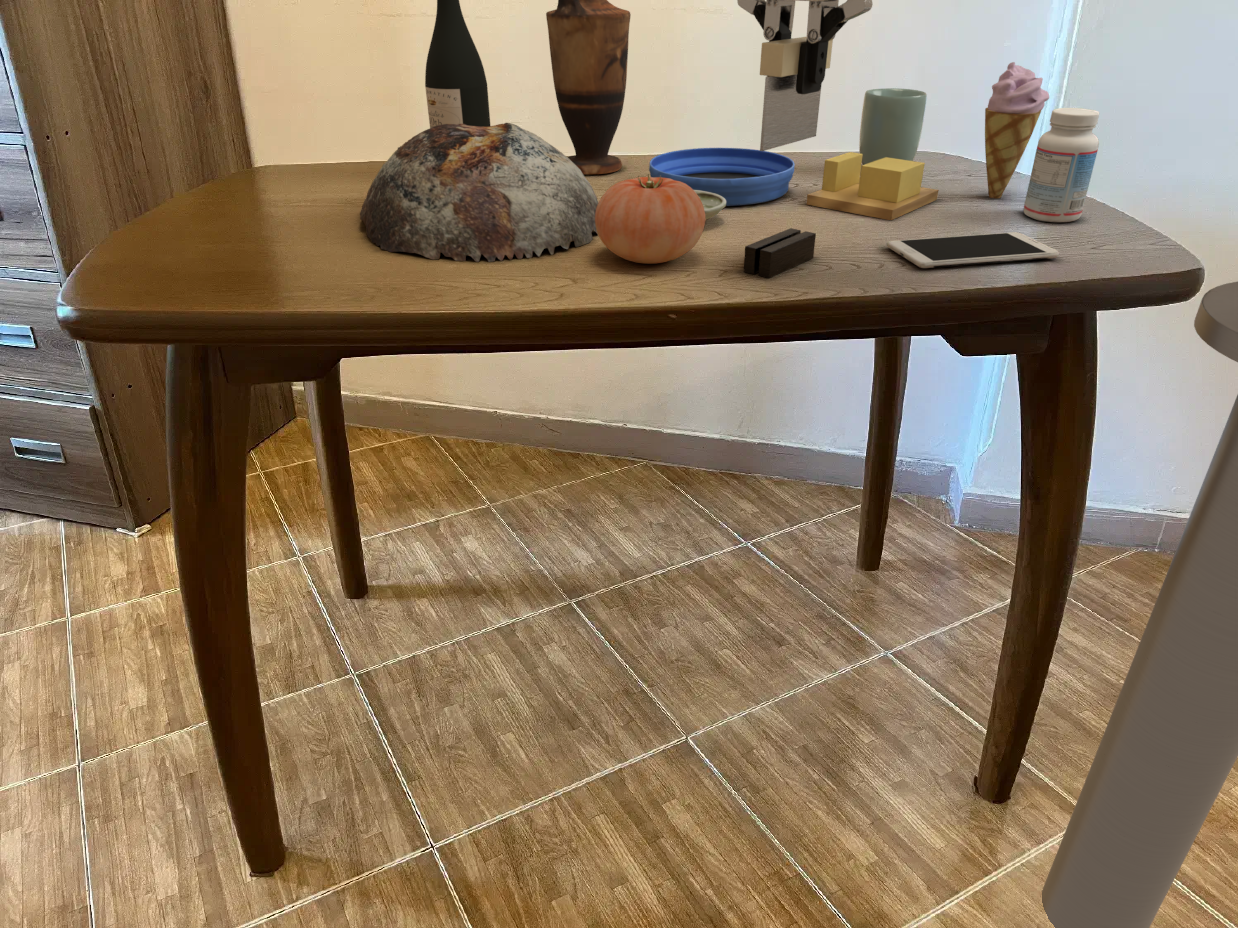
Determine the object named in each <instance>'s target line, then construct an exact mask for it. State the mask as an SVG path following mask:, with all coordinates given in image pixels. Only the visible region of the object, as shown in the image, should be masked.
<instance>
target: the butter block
mask: <svg viewBox="0 0 1238 928" xmlns="http://www.w3.org/2000/svg"><path fill="white" fill-rule="evenodd" d="M925 165H926V163H925V162H921V161H914V160H913V161H909V160H902V159H895V158H888V157H885V158H882V159H879V160H876V161H874V162H871V163H868V164H865V165H863V164H861V171H860V182H859V189H858V196H860V197H866V198H871V199H877V200H883V201H888V202H894V203H898V202H900V201H902V200H905V199H907V198H909V197H912V196H914V195H916V194H919V193H920V189H921V187H922V183H923V177H924V171H925V170H924V169H925Z"/></svg>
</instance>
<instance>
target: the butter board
mask: <svg viewBox="0 0 1238 928" xmlns="http://www.w3.org/2000/svg"><path fill="white" fill-rule="evenodd" d="M859 182H860V178H859ZM858 189H859V183H857V184H855V185H852V186H849V187H847V188H844V189H841V190H838V191H836V192H832V191H826V190H822V188H820V189H818V190H816V191H813V192H810V193H807V194H806V202H805V203H806V205H807V206H812V207H818V208H824V209H827V210H833V211H839V212H844V213H849V214H850V213H851V214H855V215H861V216H866V217H871V218H876V219H882V220H887V221H893V220H895V219H898V218H899V217H902V216H904V215H907V214H909V213H911V212H913V211H915V210H917V209H919V208H922V207H924V206H927V205H929V204H931V203H933V202H935V201H938V196H939V189H935V188H931V187H930V188H929V187H923V186H921V189H920V193H919V194H916V195H914V196H912V197H909V198H907V199H905V200H902V201H900V202H898V203H894V202H888V201H883V200H877V199H871V198H866V197H860V196H858Z"/></svg>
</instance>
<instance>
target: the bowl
mask: <svg viewBox="0 0 1238 928" xmlns="http://www.w3.org/2000/svg"><path fill="white" fill-rule="evenodd" d="M795 165H796V163H795V162H794V160H793V159H791V158H790V157H788V156H786V155H783V154H780V153H776V152H773V151H768V150H765V151H760V149H752V148H742V147H698V148H697V147H696V148H686V149H677V150H672V151H667V152H664V153H661V154H657V155H655V156H654V157H652V158H651V159H650V160H649V165H648V166H649V167H648V171H649V177H660V175H661V177H662V178H670V179H673V180H676V181H680V182H683V183H685V184H687V185H688V186H689V187H691V188H692V189H693V190H700V191H706V192H711V193H715V194H718V195H720V196H722V197H724V198H725V200H726V206H725V207H733V206H735V207H736V206H737V207H738V206H748V205H755V204H756V205H757V204H763V203H766V202H771V201H774V200H778V199H779V198H782V197H783V196H784V195H786V194H787V192H788V191H789V188H790V187H789V186H790V182H791V180H792V179H793V176H794V173H795Z"/></svg>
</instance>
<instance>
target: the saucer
mask: <svg viewBox="0 0 1238 928" xmlns="http://www.w3.org/2000/svg"><path fill="white" fill-rule="evenodd" d="M694 191H695V192H696V194H697V195H698V196H699V198H700V200H701V202H702V204H703V207H704V211H705V221H707V220H709V219H712V218H714V217H715V216H716V215H718V214H719V213H720V212H721V211H722V210H723V209H725V208H726V207H727V206H726V200H725V198H724V197H722V196H720V195H718V194H715V193H711V192H706V191H700V190H694Z"/></svg>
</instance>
